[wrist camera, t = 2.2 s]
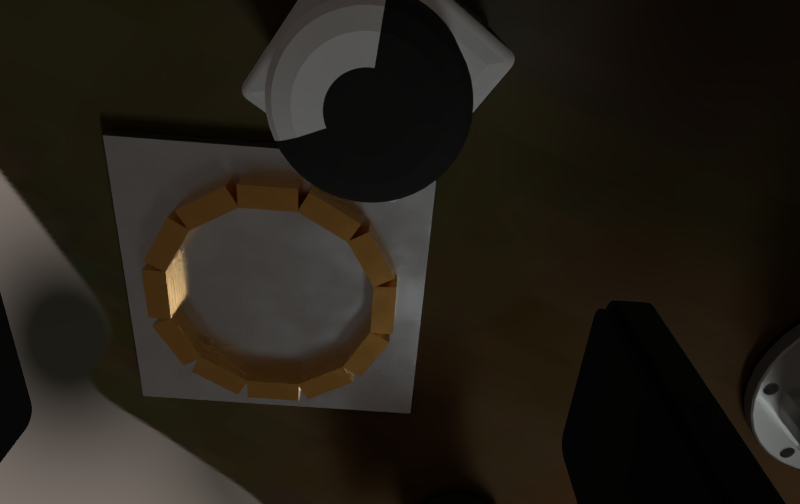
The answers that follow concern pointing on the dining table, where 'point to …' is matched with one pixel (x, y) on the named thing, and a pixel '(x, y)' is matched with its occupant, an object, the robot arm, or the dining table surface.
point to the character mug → (455, 500)
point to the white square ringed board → (265, 277)
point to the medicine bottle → (375, 91)
